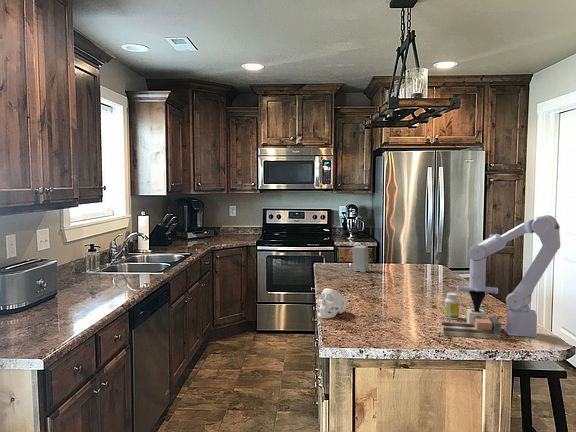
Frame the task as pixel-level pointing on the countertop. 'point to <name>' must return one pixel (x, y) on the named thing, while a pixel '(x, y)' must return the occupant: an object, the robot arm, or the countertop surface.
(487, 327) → the block
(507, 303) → the robot arm
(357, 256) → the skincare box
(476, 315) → the gauge cabinet
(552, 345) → the countertop surface
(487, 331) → the rail bed
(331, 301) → the skull bowl
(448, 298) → the supplement bottle
